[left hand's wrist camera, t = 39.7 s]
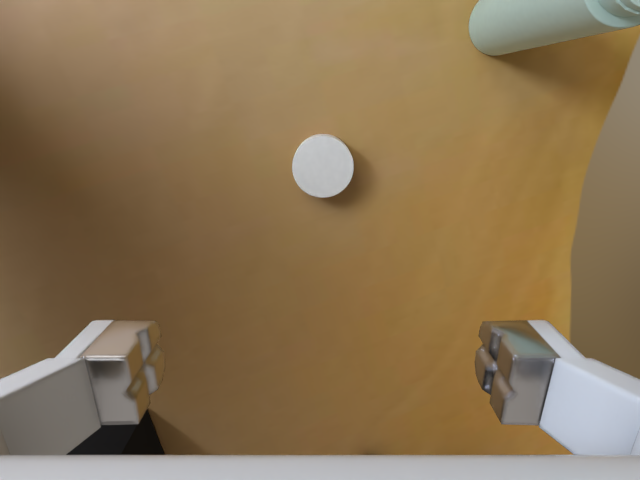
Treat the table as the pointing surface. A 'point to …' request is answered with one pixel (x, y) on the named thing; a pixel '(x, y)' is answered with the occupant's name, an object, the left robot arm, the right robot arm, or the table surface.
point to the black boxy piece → (122, 440)
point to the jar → (545, 22)
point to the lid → (322, 165)
